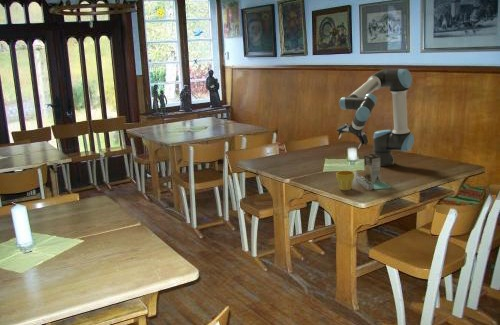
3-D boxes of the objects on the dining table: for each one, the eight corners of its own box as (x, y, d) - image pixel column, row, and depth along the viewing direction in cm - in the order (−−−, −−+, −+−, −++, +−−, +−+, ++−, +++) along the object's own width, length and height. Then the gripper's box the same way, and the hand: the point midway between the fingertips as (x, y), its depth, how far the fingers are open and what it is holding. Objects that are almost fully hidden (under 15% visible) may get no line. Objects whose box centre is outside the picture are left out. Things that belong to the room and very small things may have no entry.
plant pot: (334, 187, 301) (334, 171, 298) (351, 185, 301) (351, 169, 299) (339, 192, 290) (338, 175, 288) (356, 190, 291) (356, 174, 289)
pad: (383, 182, 303) (383, 181, 303) (391, 188, 291) (391, 187, 291) (367, 184, 302) (367, 183, 301) (375, 189, 290) (375, 189, 290)
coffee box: (363, 180, 310) (363, 155, 307) (373, 178, 312) (372, 153, 308) (371, 184, 302) (371, 157, 298) (381, 182, 303) (380, 156, 300)
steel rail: (361, 180, 310) (361, 175, 309) (373, 189, 291) (373, 184, 290) (356, 181, 310) (356, 176, 309) (368, 190, 290) (368, 184, 290)
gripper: (336, 120, 302) (329, 137, 321) (374, 139, 298) (365, 155, 317) (341, 111, 305) (334, 128, 324) (379, 129, 301) (369, 146, 320)
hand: (349, 142), depth 320 cm, fingers open, 13 cm apart
